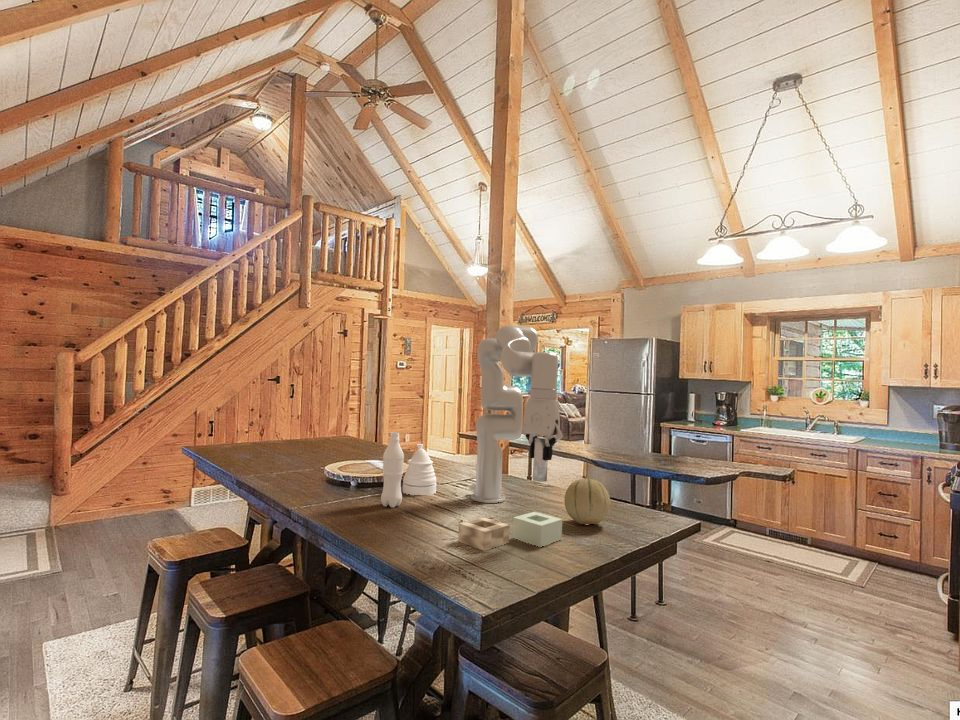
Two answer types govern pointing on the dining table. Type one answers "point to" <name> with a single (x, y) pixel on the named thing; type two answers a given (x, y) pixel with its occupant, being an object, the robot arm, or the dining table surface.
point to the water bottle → (392, 472)
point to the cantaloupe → (587, 501)
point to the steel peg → (539, 461)
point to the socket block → (483, 533)
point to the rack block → (537, 528)
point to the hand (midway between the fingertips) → (540, 458)
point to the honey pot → (419, 474)
